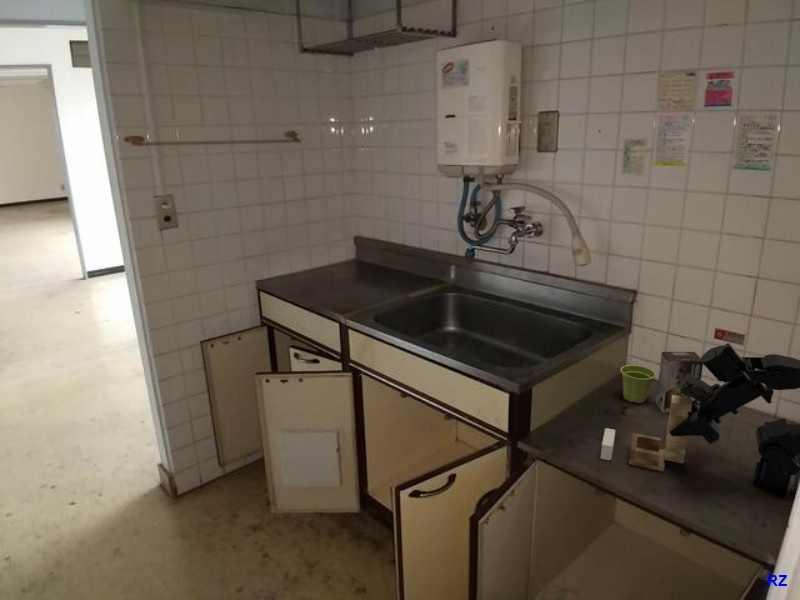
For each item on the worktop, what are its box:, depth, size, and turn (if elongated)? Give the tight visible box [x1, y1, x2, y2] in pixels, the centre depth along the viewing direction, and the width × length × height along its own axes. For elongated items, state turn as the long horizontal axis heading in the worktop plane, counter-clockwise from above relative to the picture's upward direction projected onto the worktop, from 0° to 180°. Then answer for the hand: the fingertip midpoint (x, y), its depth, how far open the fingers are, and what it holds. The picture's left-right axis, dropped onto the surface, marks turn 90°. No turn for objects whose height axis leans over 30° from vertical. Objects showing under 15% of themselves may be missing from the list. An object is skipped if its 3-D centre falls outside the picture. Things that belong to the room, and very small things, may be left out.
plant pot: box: [620, 364, 657, 404], centre depth 161 cm, size 9×9×9 cm
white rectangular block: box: [600, 427, 616, 461], centre depth 137 cm, size 2×8×4 cm, turn 155°
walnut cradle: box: [628, 432, 666, 472], centre depth 133 cm, size 8×8×4 cm
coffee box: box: [655, 351, 704, 414], centre depth 154 cm, size 9×6×16 cm
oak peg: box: [664, 395, 692, 464], centre depth 128 cm, size 4×4×15 cm
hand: (670, 429), depth 129 cm, fingers closed on oak peg, 4 cm apart
